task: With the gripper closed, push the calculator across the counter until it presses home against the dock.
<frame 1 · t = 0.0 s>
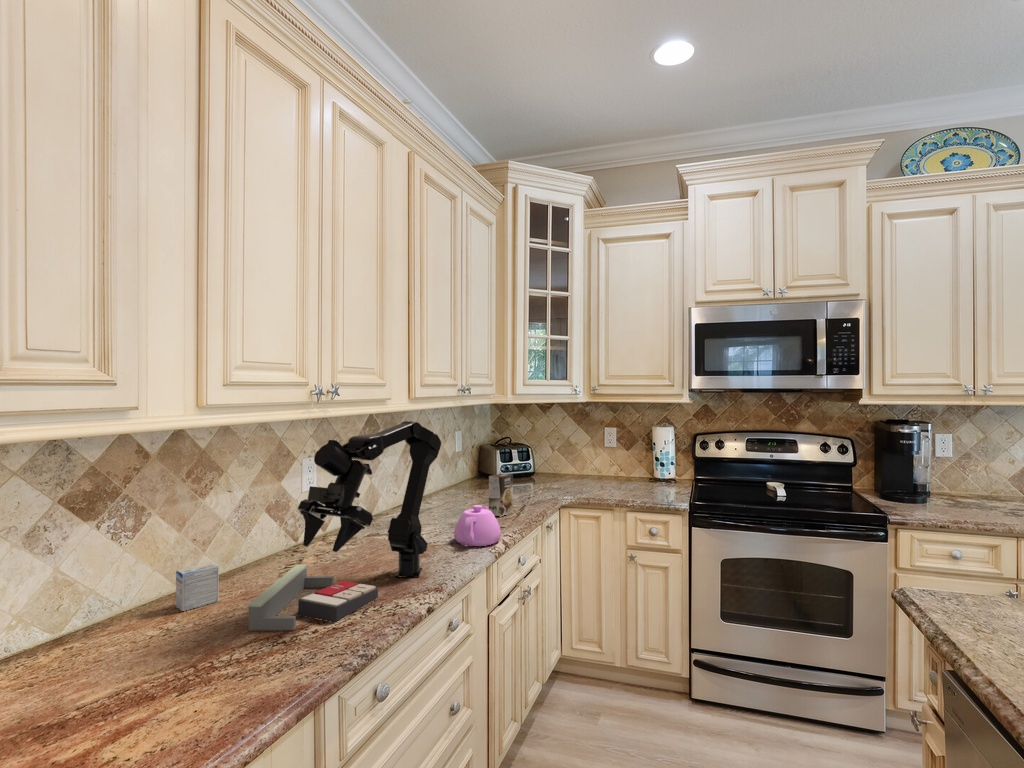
hand: (319, 548, 123), 15 cm above the countertop, tool tilted 35°, fingers open, 9 cm apart
teapot: (477, 542, 182), on the countertop
calculator: (339, 609, 127), on the countertop
medicine box: (197, 605, 129), on the countertop
dock: (280, 606, 128), on the countertop
coffee box: (501, 515, 221), on the countertop
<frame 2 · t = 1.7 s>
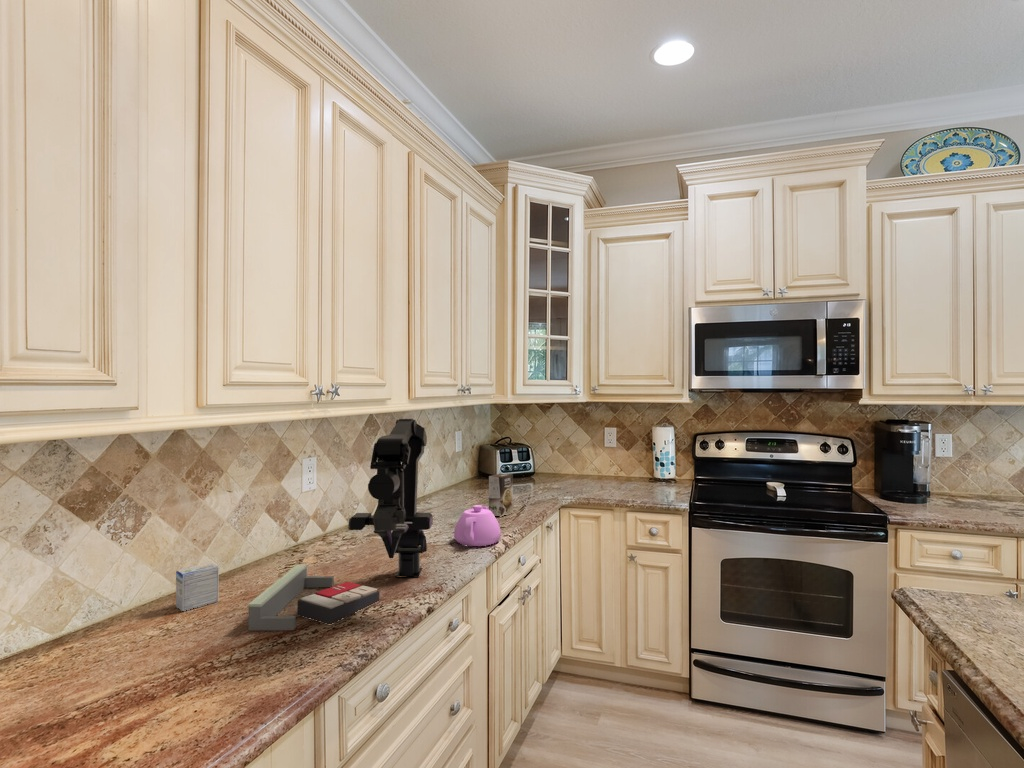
hand: (391, 557, 128), 11 cm above the countertop, tool pointing down, fingers closed
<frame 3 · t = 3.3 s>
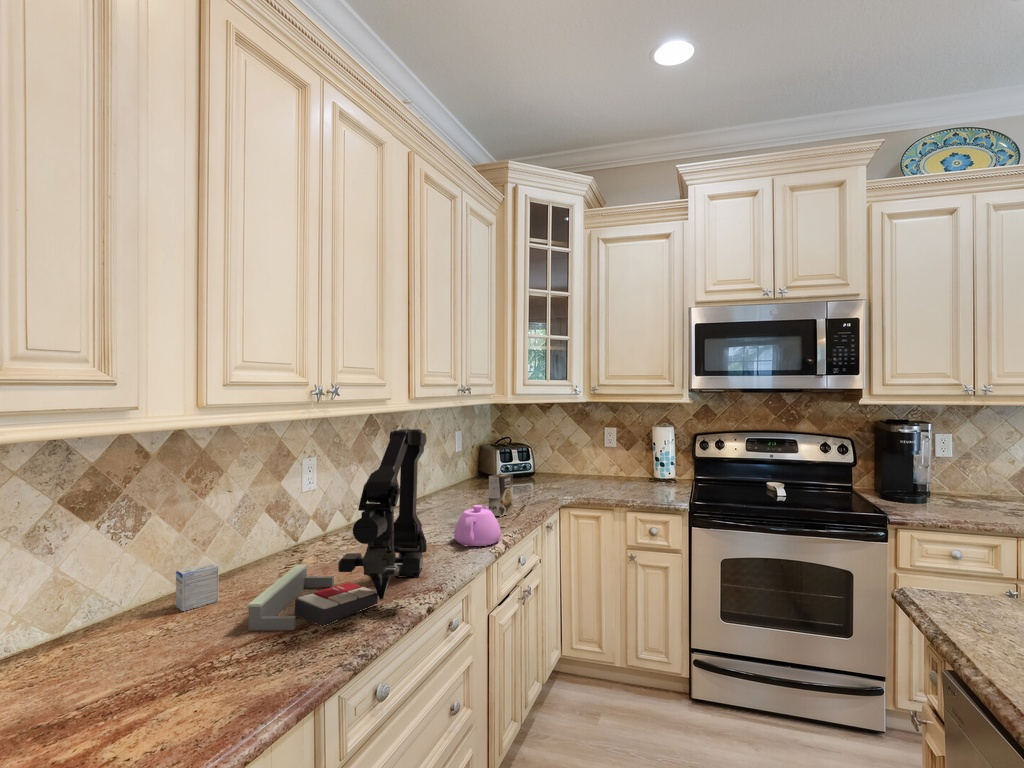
hand: (381, 598, 128), 2 cm above the countertop, tool pointing down, fingers closed
calculator: (337, 611, 126), on the countertop, touching gripper
everything else where it was.
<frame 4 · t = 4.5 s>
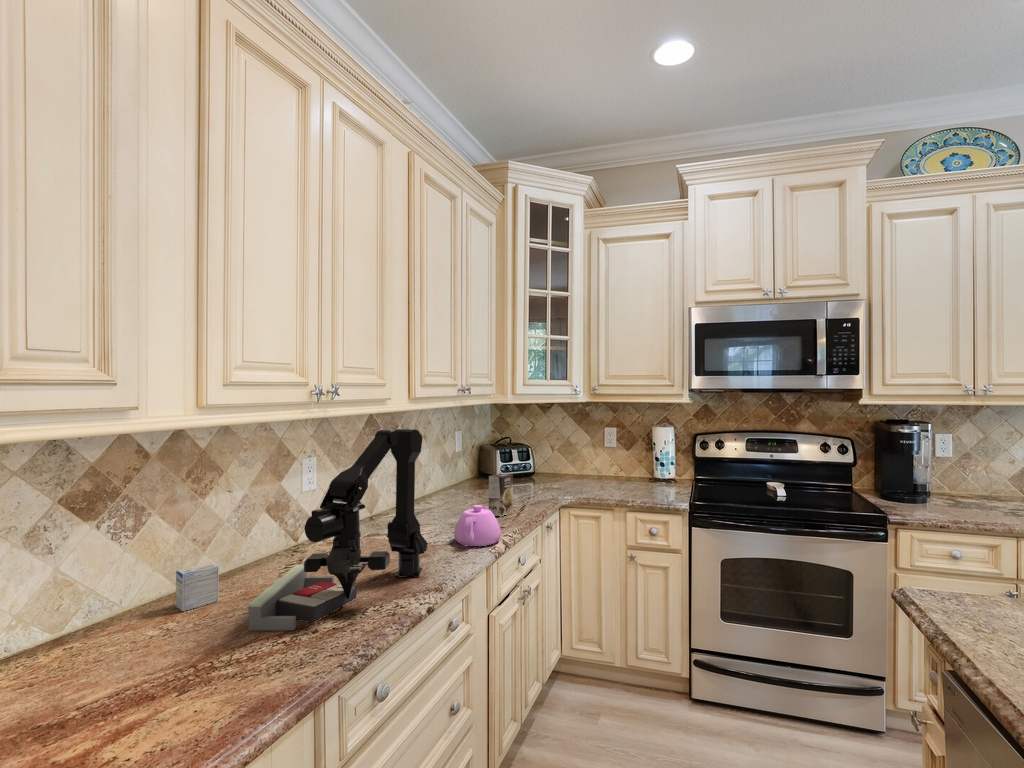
hand: (348, 598, 128), 2 cm above the countertop, tool pointing down, fingers closed
calculator: (317, 609, 127), on the countertop, touching dock, gripper
everything else where it was.
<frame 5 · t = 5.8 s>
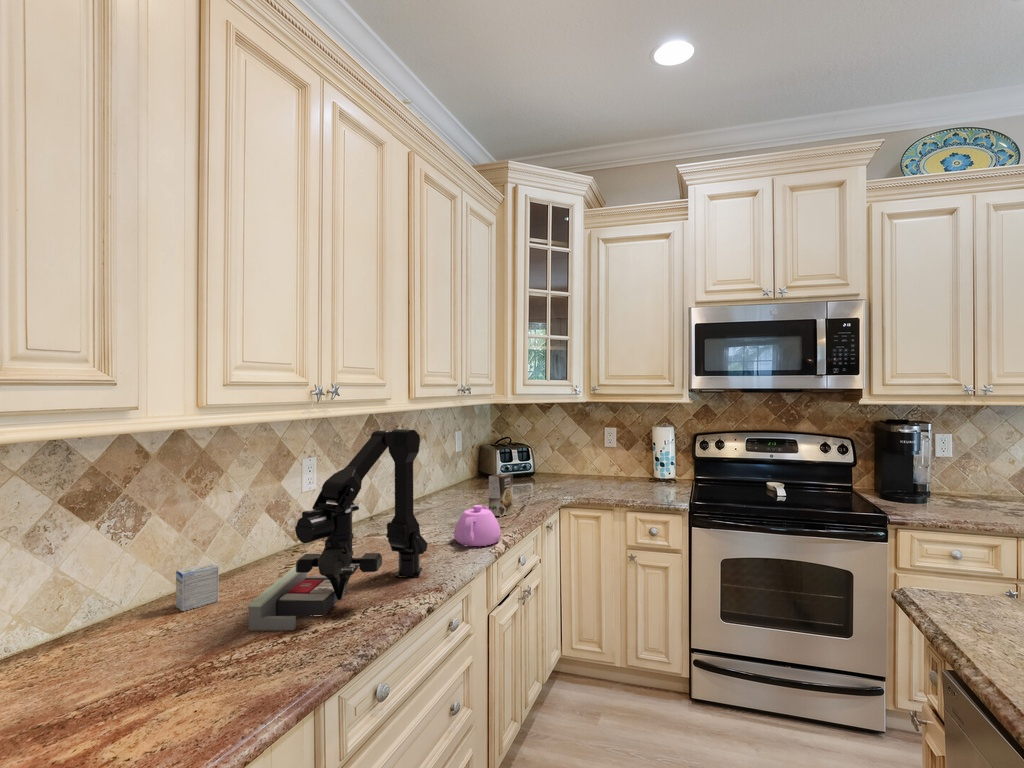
hand: (340, 599, 128), 1 cm above the countertop, tool pointing down, fingers closed
calculator: (312, 605, 130), on the countertop
everything else where it was.
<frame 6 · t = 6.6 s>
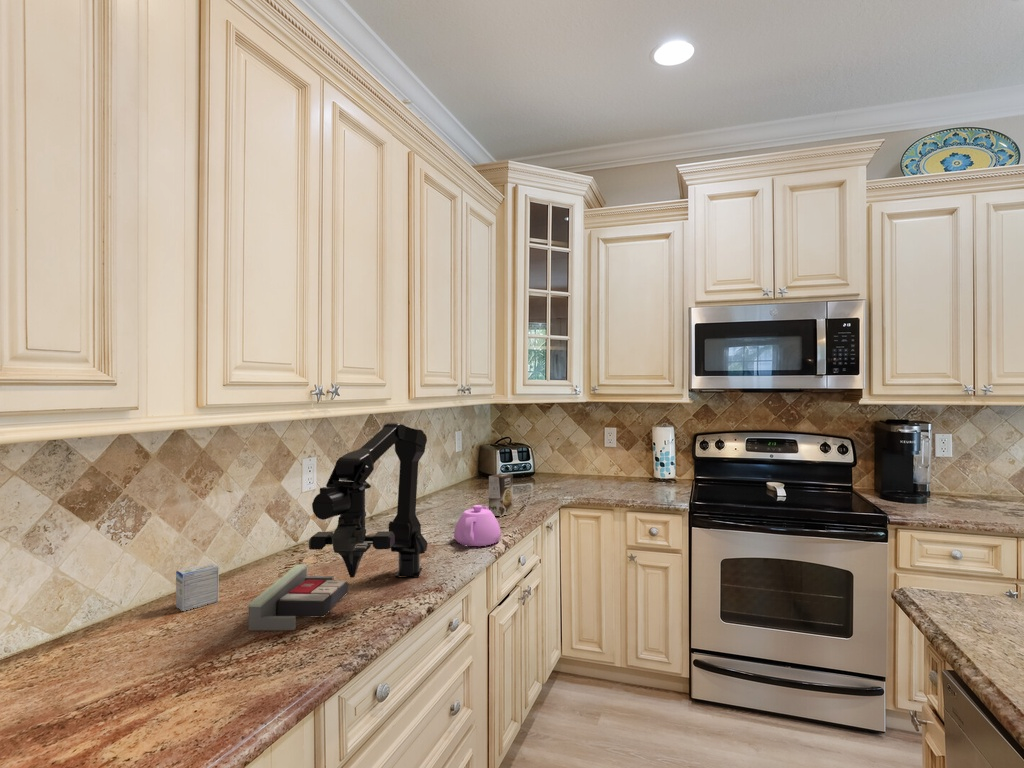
hand: (352, 577, 128), 7 cm above the countertop, tool pointing down, fingers closed
nothing on the countertop moved.
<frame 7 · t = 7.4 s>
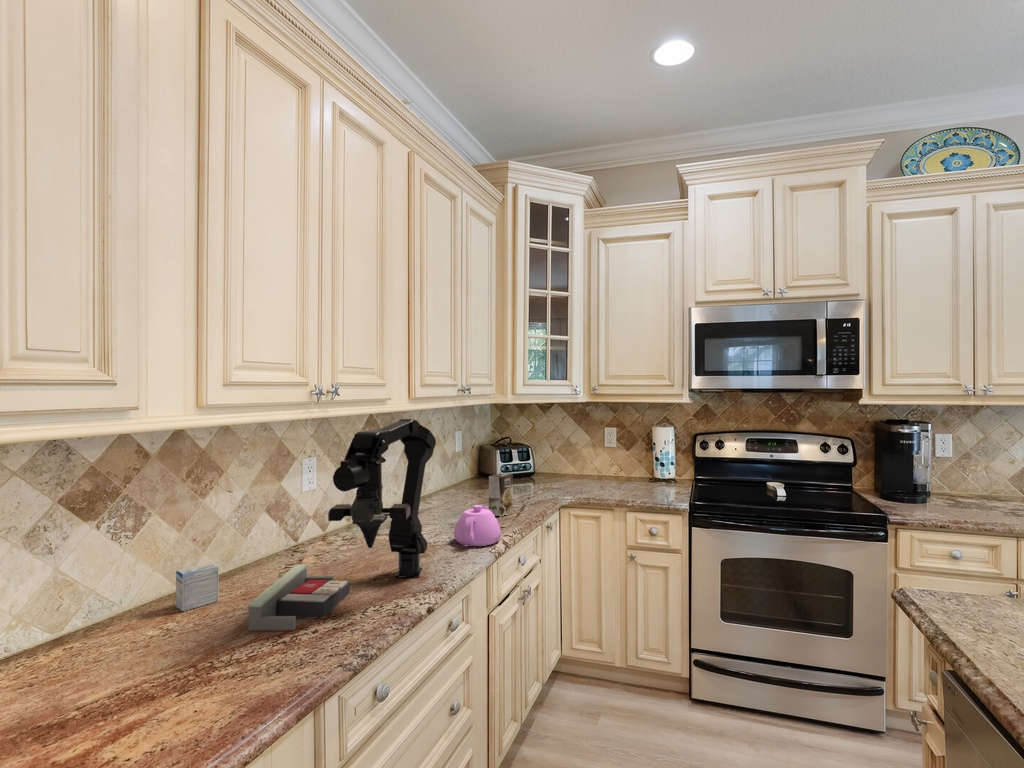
hand: (370, 547, 133), 12 cm above the countertop, tool pointing down, fingers closed
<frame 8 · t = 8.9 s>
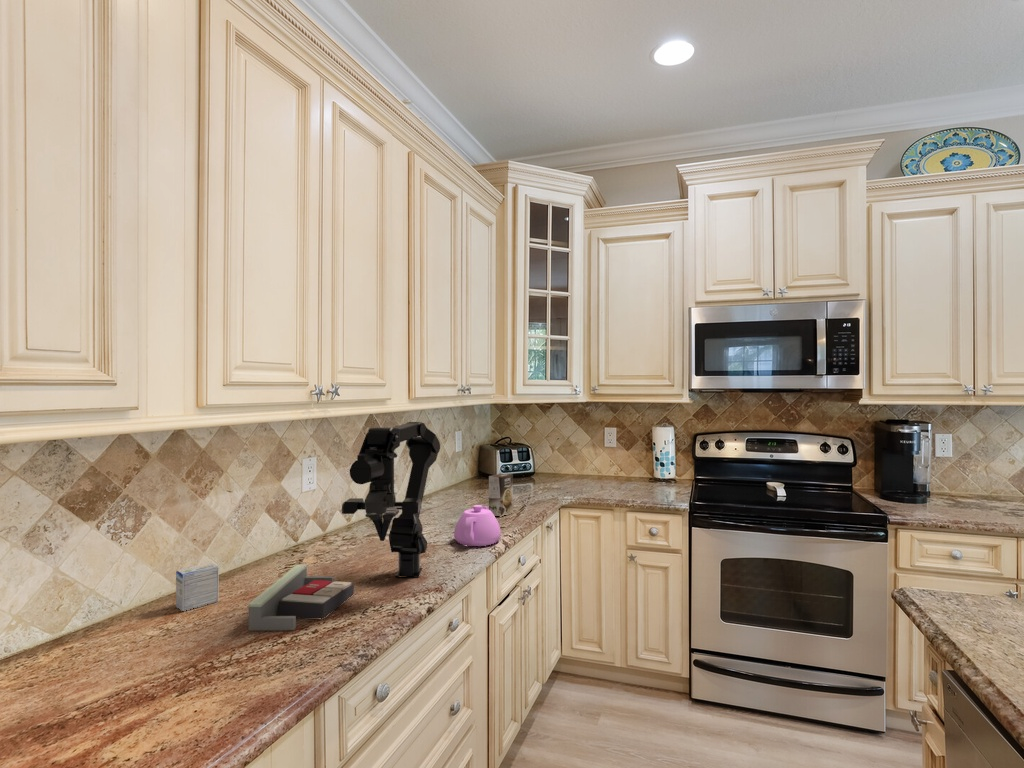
hand: (382, 540, 136), 13 cm above the countertop, tool pointing down, fingers closed
at the end: calculator inside the target area (1.6 cm from its centre), on the countertop; calculator moved 5.3 cm from its start; calculator tilted 0° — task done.
